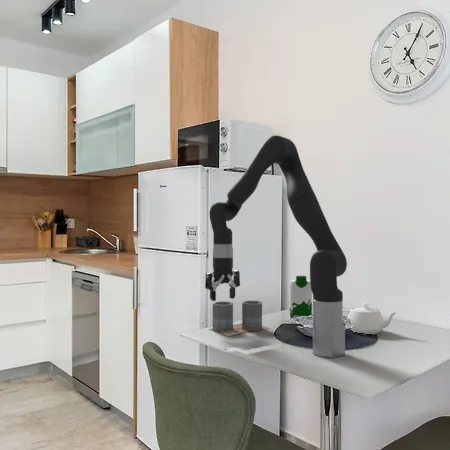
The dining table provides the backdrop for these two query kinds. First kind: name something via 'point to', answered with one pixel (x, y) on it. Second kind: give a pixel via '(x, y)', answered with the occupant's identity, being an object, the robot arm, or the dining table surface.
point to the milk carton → (300, 297)
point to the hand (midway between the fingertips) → (222, 299)
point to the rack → (249, 318)
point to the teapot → (367, 319)
